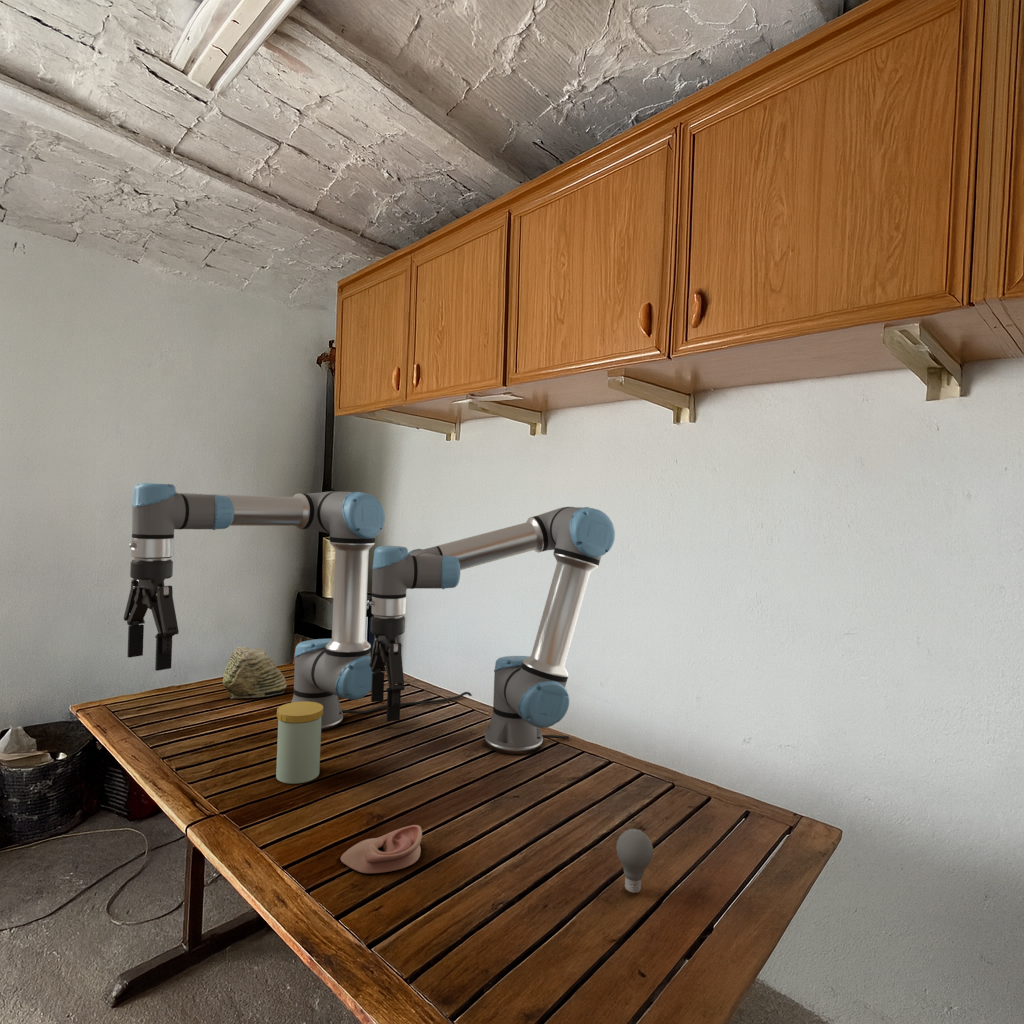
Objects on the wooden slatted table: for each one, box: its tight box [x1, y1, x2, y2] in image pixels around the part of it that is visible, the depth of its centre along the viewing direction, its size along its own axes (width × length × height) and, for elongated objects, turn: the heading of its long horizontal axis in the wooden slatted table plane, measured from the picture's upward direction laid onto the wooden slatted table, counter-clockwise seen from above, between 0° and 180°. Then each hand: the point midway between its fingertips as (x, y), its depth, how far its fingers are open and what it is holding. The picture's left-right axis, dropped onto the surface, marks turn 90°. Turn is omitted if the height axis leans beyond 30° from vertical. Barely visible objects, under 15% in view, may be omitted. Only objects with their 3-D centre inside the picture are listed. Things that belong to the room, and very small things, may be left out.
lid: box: [276, 701, 324, 723], centre depth 144 cm, size 10×10×2 cm
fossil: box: [222, 646, 288, 699], centre depth 198 cm, size 9×18×15 cm, turn 132°
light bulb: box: [615, 828, 654, 894], centre depth 106 cm, size 6×6×10 cm
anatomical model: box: [340, 824, 423, 874], centre depth 112 cm, size 13×4×12 cm
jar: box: [275, 717, 322, 785], centre depth 144 cm, size 9×9×15 cm
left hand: (148, 662), depth 129 cm, fingers open, 13 cm apart
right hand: (384, 710), depth 141 cm, fingers open, 13 cm apart
